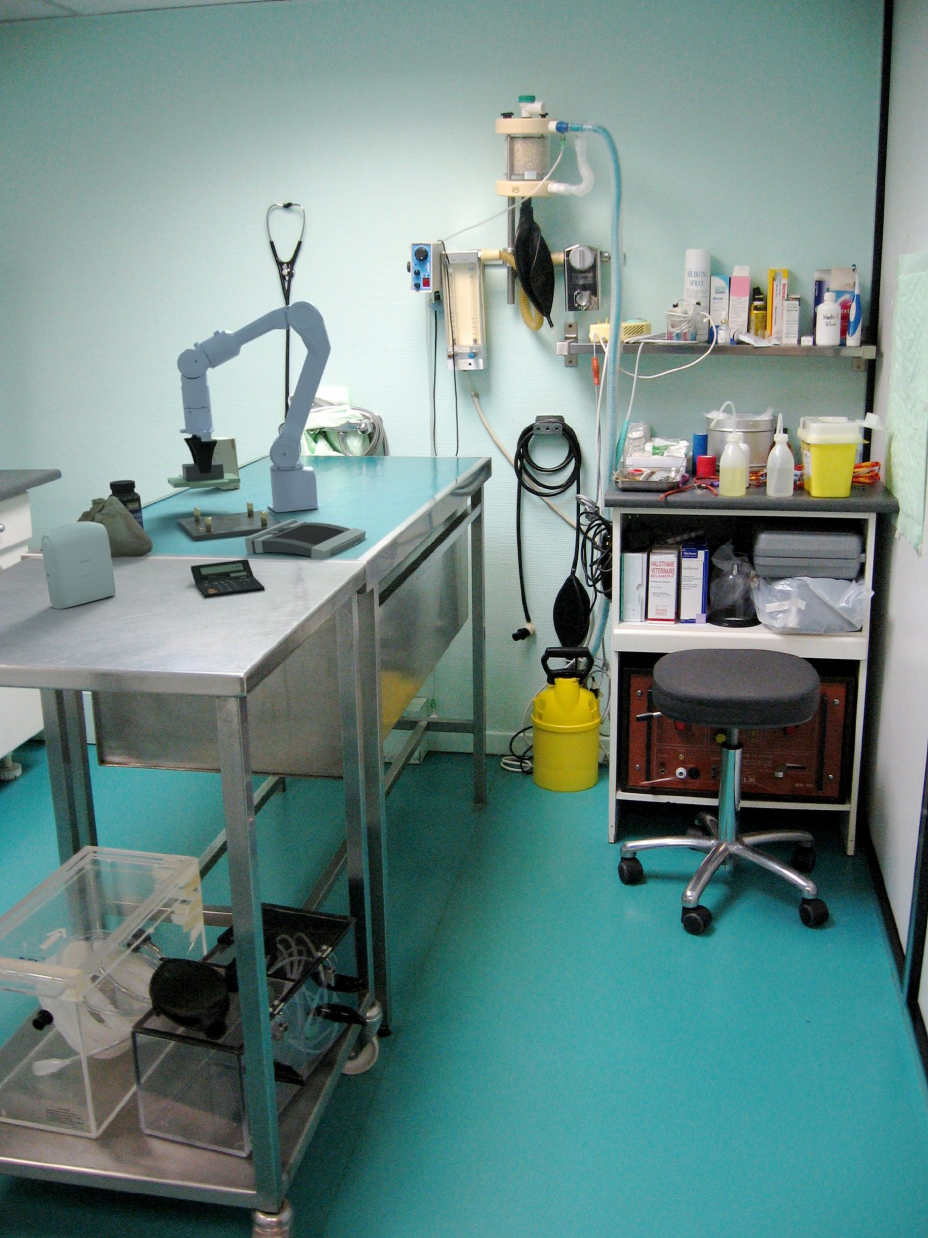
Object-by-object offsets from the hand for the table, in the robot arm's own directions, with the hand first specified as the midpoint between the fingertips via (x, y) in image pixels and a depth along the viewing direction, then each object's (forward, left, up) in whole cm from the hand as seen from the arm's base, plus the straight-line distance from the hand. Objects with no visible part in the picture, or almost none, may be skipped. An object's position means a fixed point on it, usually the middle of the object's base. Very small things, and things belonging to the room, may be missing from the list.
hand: (203, 471), depth 228 cm
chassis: (-1, +19, -9) cm, 21 cm away
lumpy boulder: (+22, +31, -9) cm, 39 cm away
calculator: (+10, +64, -9) cm, 65 cm away
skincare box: (-11, -28, -9) cm, 32 cm away
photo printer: (+32, +62, -9) cm, 70 cm away
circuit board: (0, 0, -2) cm, 2 cm away
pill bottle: (+19, +18, -9) cm, 28 cm away
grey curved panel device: (-10, +43, -10) cm, 45 cm away
